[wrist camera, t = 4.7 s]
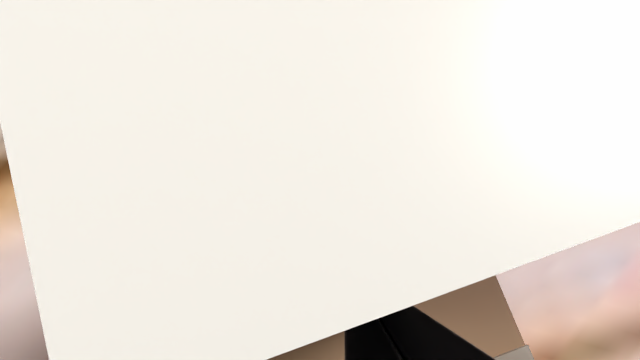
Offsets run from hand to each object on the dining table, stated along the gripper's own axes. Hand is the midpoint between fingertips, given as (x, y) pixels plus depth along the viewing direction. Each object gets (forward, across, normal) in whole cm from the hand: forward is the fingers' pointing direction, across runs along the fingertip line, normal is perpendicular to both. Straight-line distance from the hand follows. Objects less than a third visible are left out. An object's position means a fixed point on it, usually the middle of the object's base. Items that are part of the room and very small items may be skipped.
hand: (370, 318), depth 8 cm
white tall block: (+6, 0, +3) cm, 7 cm away
